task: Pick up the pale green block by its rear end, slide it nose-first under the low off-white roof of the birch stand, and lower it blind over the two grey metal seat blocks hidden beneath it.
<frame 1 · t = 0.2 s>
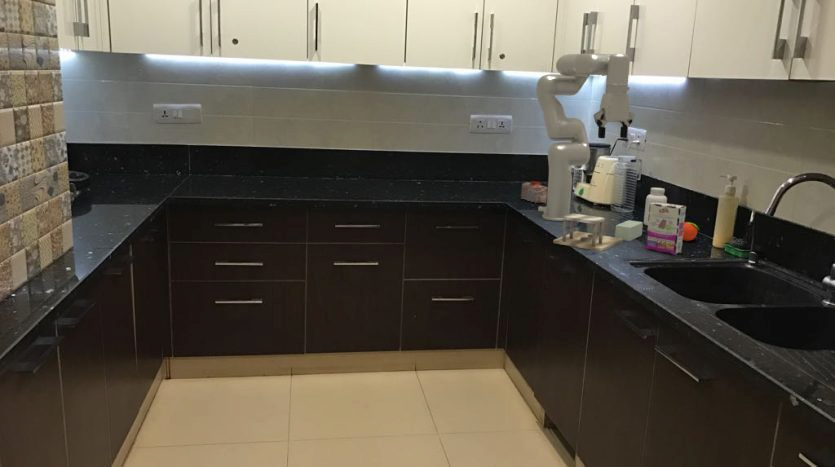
hand: (612, 137, 254), 37 cm above the worktop, tool pointing down, fingers open, 9 cm apart
candy bar box: (663, 251, 242), on the worktop
food item: (533, 202, 330), on the worktop
pill bottle: (653, 225, 284), on the worktop
pale green block: (628, 236, 262), on the worktop
overhang stand: (588, 241, 252), on the worktop
clementine: (687, 241, 258), on the worktop
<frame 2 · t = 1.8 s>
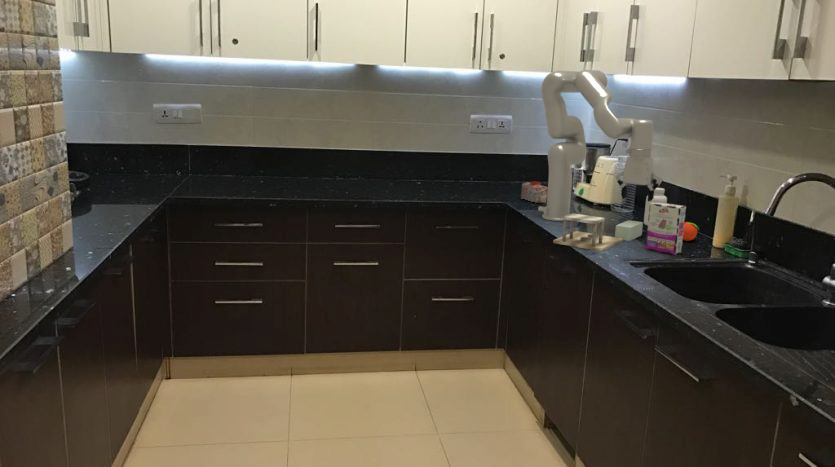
hand: (636, 199, 261), 14 cm above the worktop, tool pointing down, fingers open, 9 cm apart
nothing on the worktop moved.
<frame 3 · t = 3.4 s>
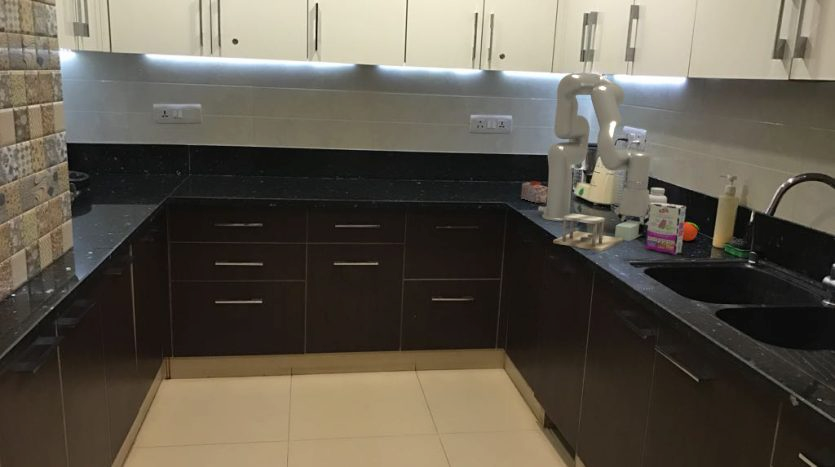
hand: (632, 232, 264), 1 cm above the worktop, tool pointing down, fingers closed on pale green block, 5 cm apart
pale green block: (628, 236, 262), on the worktop, touching gripper
everything else where it was.
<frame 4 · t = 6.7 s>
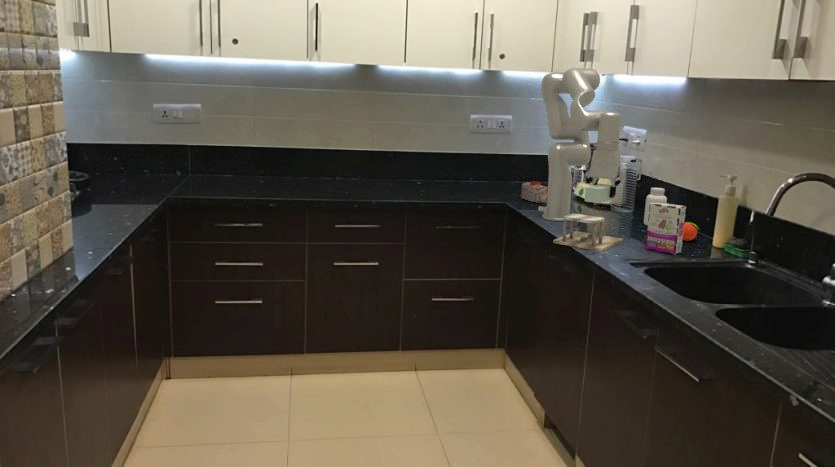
hand: (603, 195, 256), 16 cm above the worktop, tool pointing down, fingers closed on pale green block, 5 cm apart
pale green block: (599, 200, 253), point 15 cm above the worktop, touching gripper
everything else where it was.
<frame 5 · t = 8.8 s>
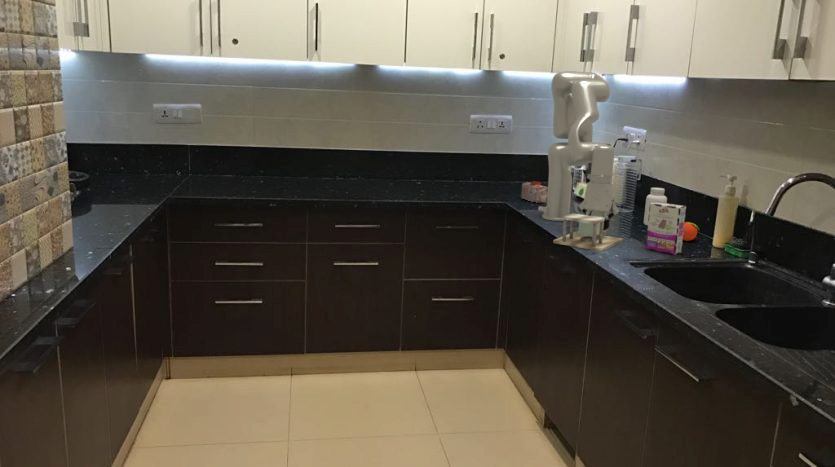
hand: (597, 228, 256), 4 cm above the worktop, tool pointing down, fingers closed on pale green block, 5 cm apart
pale green block: (592, 232, 253), point 3 cm above the worktop, touching gripper
everything else where it was.
when the fingers open (3 cm above the worktop, at t = 10.2 s): pale green block stays where it is, resting on overhang stand.
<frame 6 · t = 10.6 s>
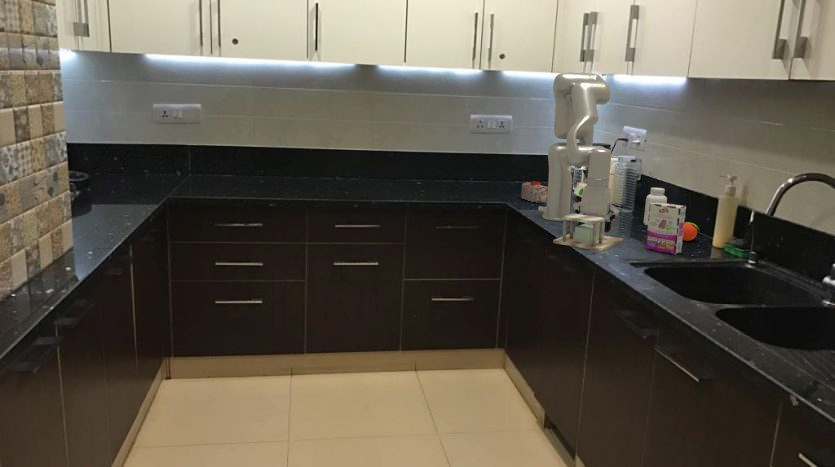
hand: (594, 229, 254), 4 cm above the worktop, tool pointing down, fingers open, 9 cm apart
pale green block: (589, 239, 252), point 1 cm above the worktop, touching overhang stand
everything else where it was.
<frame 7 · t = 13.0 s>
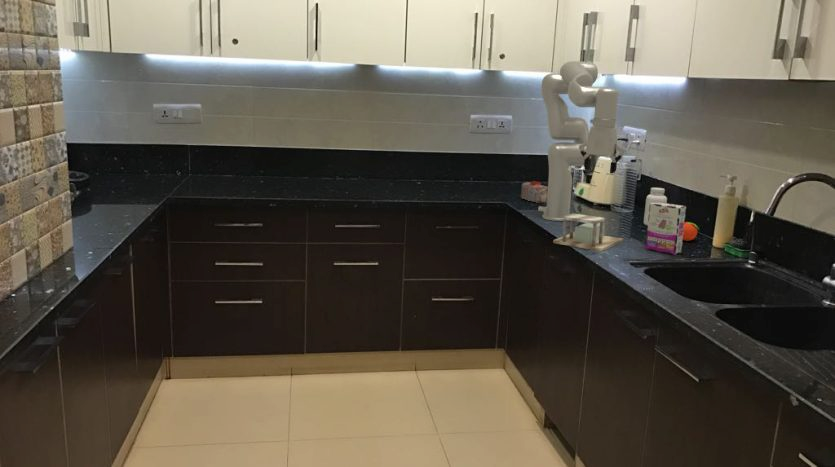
hand: (599, 171, 254), 25 cm above the worktop, tool pointing down, fingers open, 9 cm apart
nothing on the worktop moved.
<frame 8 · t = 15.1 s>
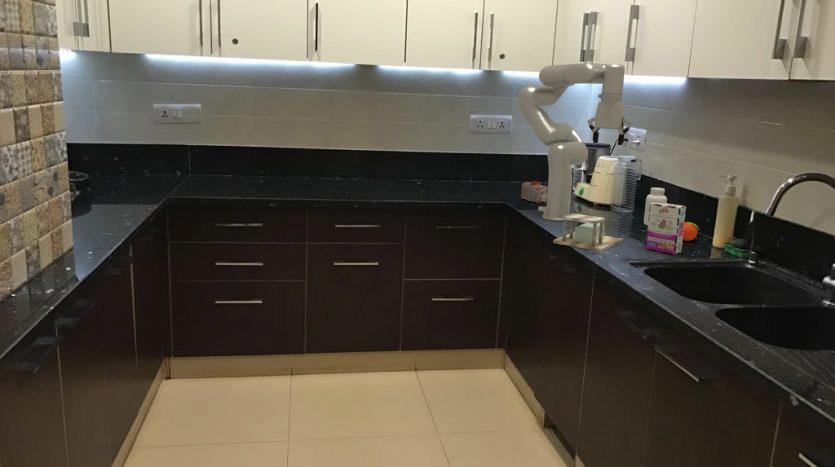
hand: (607, 143, 265), 33 cm above the worktop, tool pointing down, fingers open, 9 cm apart
nothing on the worktop moved.
at the end: pale green block 0.2 cm off-centre on the overhang stand, point 1.0 cm above the overhang stand's base; pale green block tilted 0°; the gripper is holding nothing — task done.
